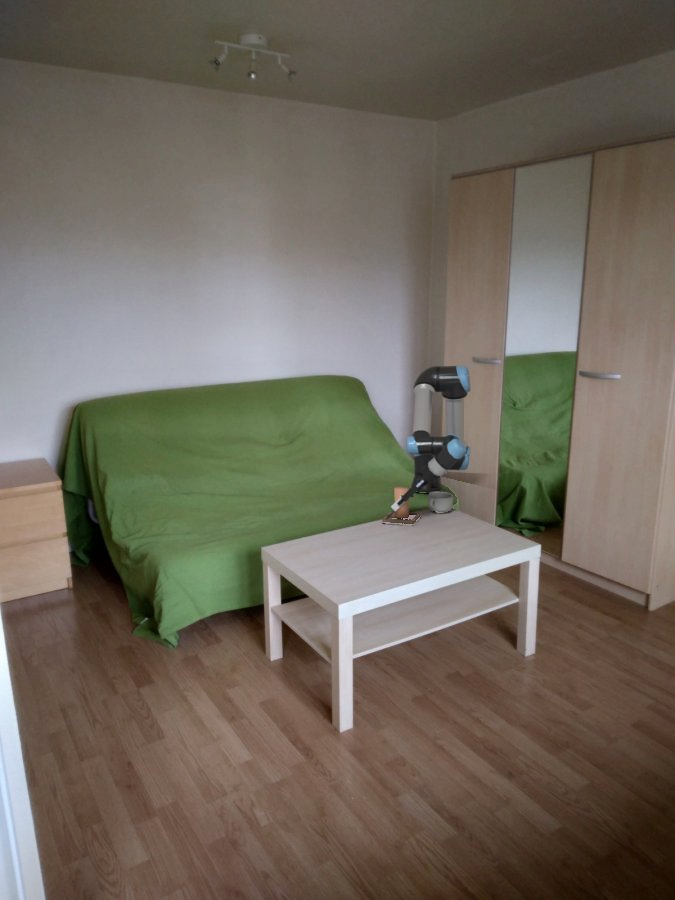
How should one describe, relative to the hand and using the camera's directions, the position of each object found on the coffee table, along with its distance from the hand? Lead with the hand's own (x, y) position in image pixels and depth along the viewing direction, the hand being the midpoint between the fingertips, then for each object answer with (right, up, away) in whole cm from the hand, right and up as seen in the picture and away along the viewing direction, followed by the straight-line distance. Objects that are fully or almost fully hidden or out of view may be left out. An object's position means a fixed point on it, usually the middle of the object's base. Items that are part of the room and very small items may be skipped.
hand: (395, 506), depth 273 cm
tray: (+3, -6, 0) cm, 6 cm away
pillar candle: (+3, -4, 0) cm, 5 cm away
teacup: (+20, -4, +11) cm, 23 cm away
